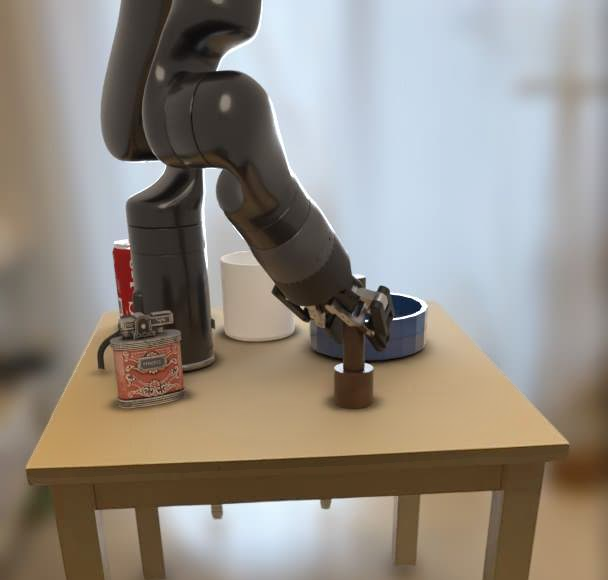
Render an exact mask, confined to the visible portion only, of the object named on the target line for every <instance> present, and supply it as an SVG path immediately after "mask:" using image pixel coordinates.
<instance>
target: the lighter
mask: <svg viewBox="0 0 608 580" xmlns="http://www.w3.org/2000/svg"><path fill="white" fill-rule="evenodd" d="M117 322H118V323H119V329H120V331H121V334H122V336H120V337H115V338H112V339H111V340H110V345H109V346H110V348H111V349H112V355H113V362H114V370H115V378H116V380H115V381H116V387H117V394H118V395H117V397H116V399H117V406H118V407H119V408H121V409H134V408H135V409H136V408H142V407H150V406H156V405H161V404H165V403H170V402H174V401H177V400H182V399H184V398H186V397H187V391H186V386H184V385H185V384H184V374H183V373H184V371H182V360H181V349H180V340H181V332H180V331H179V330H174V329H168V330H163V326H162V325H163V324H170V323H173V313H171V311H161V312H154V313H151V315H144V314H143V313H141V312H136V313H134V314H133V317H130V318H123V319H120V318H119V319H118V321H117ZM151 326H156V331H152V327H151ZM130 329H131V330H130ZM129 330H130V332H129ZM129 334H130V335H129Z"/></svg>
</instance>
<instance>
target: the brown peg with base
mask: <svg viewBox="0 0 608 580" xmlns="http://www.w3.org/2000/svg"><path fill="white" fill-rule="evenodd" d="M352 275H353V276H354V277H355V278H356V279H358V280H359V281H360V282H361V283H362V284H363V287H364V288H365V289H367V276H366V275H365V274H361V273H352ZM352 314H353V312H352V313H351V315H352ZM364 321H365V317H364ZM374 370H375V368H374V366H373V365H372V364H370V363H367V362H366V361H365V334H364V333H363V332H362V331H361V330H360V329H359V328H358V327H350V326H349V325H348V324H346V323H345V322H344V321H343V359H342V362H341V363H337V364H336V365H335V366H334V367H333V403H334V404H335V405H336V406H337V407H340V408H343V409H350V410H351V409H355V410H356V409H364V408H367V407H371V406H372V404H373V403H374V374H375V373H374Z"/></svg>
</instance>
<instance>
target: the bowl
mask: <svg viewBox="0 0 608 580" xmlns="http://www.w3.org/2000/svg"><path fill="white" fill-rule="evenodd" d="M390 294H391V298H392V303H393V308H394V312H395V316H394V318H393V320H392V323H391V325H390V327H389V329H388V331H389V333H390V334H391V339H390V341H389V343H388V345H387V348H386V349H385V350H384V351H383V352H378V351H376V350H375V349H374V347H373V346H372V344H371V343H370V342H369V340H368V339H367V337H366V336H365V362H377V361H378V362H379V361H388V360H394V359H399V358H403V357H406V356H410V355H414V354H416V353H417V352H419V351H421V350H422V349H423V350H424V347H425V346H426V344H427V333H428V332H427V330H428V329H427V328H428V314H429V313H428V311H429V307H428V304H427V302H425V301H424V300H422V299H420V298H418V297H415V296H411V295H407V294H403V293H395V292H390ZM369 317H370V316H369V315H368V314H367V313H366V315H365V322H366V323H367V322H368V319H369ZM308 325H309V328H308V330H309V331H308V332H309V335H308V336H309V346H310V348H312V349H313V350H314V351H316V352H317V353H319V354H323V355H325V356H329V357H333V358H335V359H336V358H337V359H341V360H343V345H341V344H336V342H335V341H334V340H333V338H332V337H330V335H329V334H328V333H327V331H326V330H325V329H324V328H321V327H319V326H317V325H316V324H315V321H314V320H310V322H309V323H308Z"/></svg>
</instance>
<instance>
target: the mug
mask: <svg viewBox="0 0 608 580" xmlns="http://www.w3.org/2000/svg"><path fill="white" fill-rule="evenodd" d="M219 265H220V282H221V297H222V313H223V326H224V327H223V329H224V334H225V335H226V336H227V337H229V338H231V339H233V340H237V341H241V342H270V341H277V340H282V339H285V338H287V337H289V336H291V335H292V334H294V332H295V330H296V322H295V321H296V320H295V316H296V315H295V314H294V313H293V312H292V311H291V310H290V309H289V308H287V307H286V306H285V305H284V304H283V303H282V302H281V301H280V300H279V299H277V298H276V297H275V296H274V295H273V294H272V293H271V291H272V289H273V287H274V285H275V283H274V282H273V280H272V279H271V278H270V277H269V275H268V274H267V273H266V272H265V270H264V269H263V268H262V267H261V265H260V264H259V263H258V261H257V260H256V259H255V257H254V256H253V254H252V252H251V250H243V251H236V252H231V253H227V254H224V255H222V256H221V257H220V258H219Z"/></svg>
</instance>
